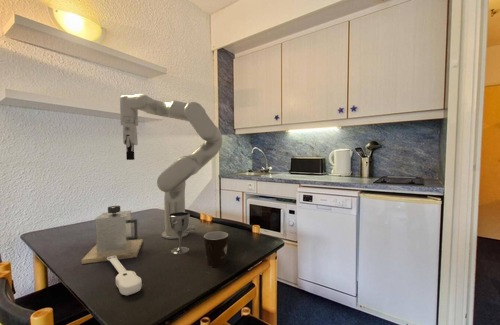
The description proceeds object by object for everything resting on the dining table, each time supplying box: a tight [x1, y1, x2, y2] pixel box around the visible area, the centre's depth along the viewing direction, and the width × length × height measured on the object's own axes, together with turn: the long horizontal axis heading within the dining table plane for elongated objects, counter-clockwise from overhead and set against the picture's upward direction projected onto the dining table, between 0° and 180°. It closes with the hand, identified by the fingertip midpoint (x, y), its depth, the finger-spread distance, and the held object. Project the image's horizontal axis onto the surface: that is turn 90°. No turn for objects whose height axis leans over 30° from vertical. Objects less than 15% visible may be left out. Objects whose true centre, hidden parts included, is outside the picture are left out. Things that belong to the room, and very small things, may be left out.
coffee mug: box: [203, 230, 229, 268], centre depth 82 cm, size 12×9×10 cm
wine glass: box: [169, 211, 191, 255], centre depth 95 cm, size 8×8×15 cm
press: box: [81, 210, 144, 265], centre depth 94 cm, size 18×16×15 cm
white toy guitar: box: [107, 256, 143, 297], centre depth 74 cm, size 28×6×3 cm, turn 42°
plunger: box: [107, 205, 121, 215], centre depth 94 cm, size 8×8×16 cm
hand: (130, 159), depth 113 cm, fingers closed
